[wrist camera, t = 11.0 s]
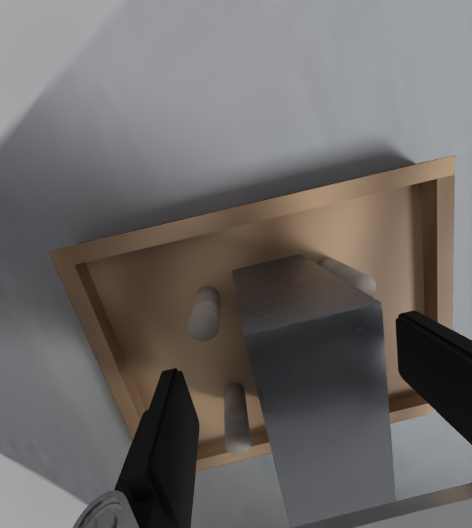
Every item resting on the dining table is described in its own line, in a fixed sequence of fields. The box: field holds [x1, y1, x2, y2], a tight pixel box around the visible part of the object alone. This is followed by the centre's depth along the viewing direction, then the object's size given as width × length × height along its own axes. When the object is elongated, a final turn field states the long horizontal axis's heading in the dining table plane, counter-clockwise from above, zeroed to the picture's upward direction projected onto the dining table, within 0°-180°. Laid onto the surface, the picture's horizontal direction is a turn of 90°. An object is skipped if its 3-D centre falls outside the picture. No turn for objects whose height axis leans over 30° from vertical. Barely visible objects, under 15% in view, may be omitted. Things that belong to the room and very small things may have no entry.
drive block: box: [232, 254, 395, 528], centre depth 10 cm, size 4×8×6 cm, turn 13°
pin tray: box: [49, 156, 455, 471], centre depth 12 cm, size 18×14×4 cm
